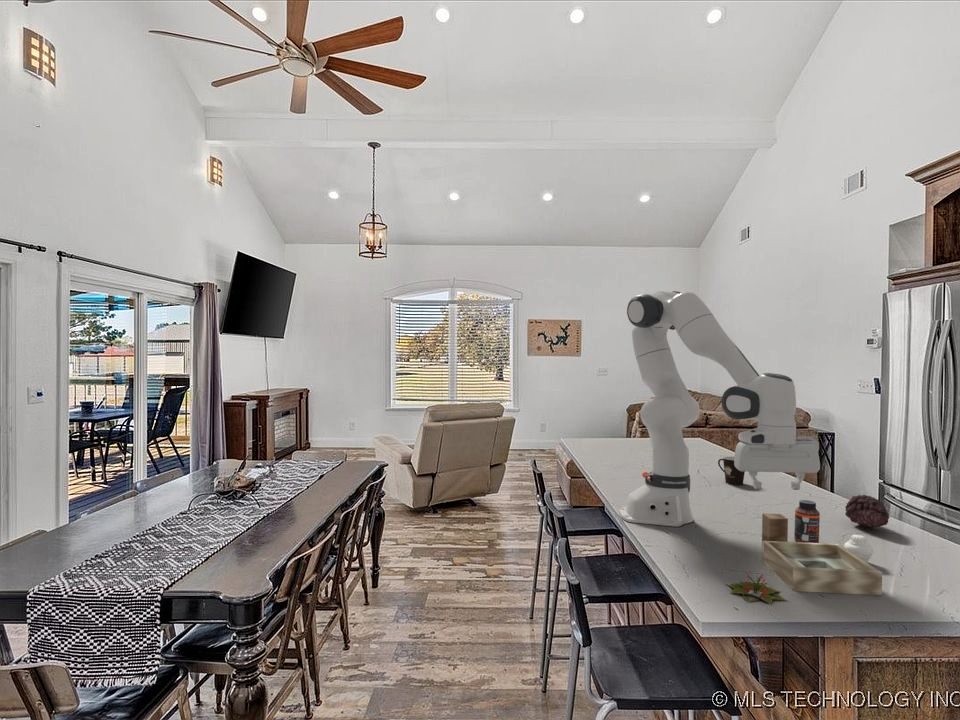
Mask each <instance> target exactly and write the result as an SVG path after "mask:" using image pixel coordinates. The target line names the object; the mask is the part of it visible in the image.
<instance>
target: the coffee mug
mask: <svg viewBox="0 0 960 720" xmlns="http://www.w3.org/2000/svg"><path fill="white" fill-rule="evenodd" d="M734 457H735V456H724V457H722V458H720V459H718V461H717V464H718V466H719V468H720V470H721V471H722V472H723V473H724V479H725V481H724V482H725V484H727V483H728V485H731V484H733V485H732V486H742V484H744V479H745V472H746V471H740V470H738V469H737V468H736V467H735V465H734ZM721 461H722V463H723V467H722V466H721V464H720V462H721Z"/></svg>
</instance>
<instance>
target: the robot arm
mask: <svg viewBox="0 0 960 720" xmlns="http://www.w3.org/2000/svg"><path fill="white" fill-rule="evenodd" d="M626 308H627V309H626V314H627V318H628V320H629V323H630V324H632V326H634V327H633V329H632V332H631V337H632V346H633V352H634V357H635V359H636V362H637V366H638V370H639V373H640V376H641V380H642V381H643V383H644V385H646V386H647V388H648V389H649V390H650V391H651V393H652V394H653V396H654V397H652V398H650V399H648V400H647V401H645V402H644V404H643V405H642V407H641V409H640V412H639V413H640V414H639V415H640V420H641V422H642V424H643V425H644V426H645V427H646V429H647V432H648V436H649V440H650V445H651V471H649V472H648V471H647V470H644V471H642V472H641V476H642V478H644V482H645V483H644V484H642V485H640V486H639V487H638V488H636V489H634V490H633V491H631V492H630V494H628V497H627V500H626V506H623V507H620V509H619V511H618V515H619V516H620V518H621V519H622V520H624V521H626V522H629V523H634V524H647V525H654V526H657V525H658V526H667V527H675V528H676V527H677V528H678V527H682V526H683V525H686V524H690V523H692V522H694V516H693V511H692V508H691V507H692V506H691V499H690V492H691V475H690V474H689V473H690V472H689V469H690V468H689V467H690V466H689V465H690V462H689V461H690V451H689V448H688V446H687V445H686V443H685V439H684V436H683V429H684V428H687V427H689V426H691V425H692V424H694V423H695V422H696V421H697V420H698V419H699V417H700V413H701V409H700V405H699V403H698V401H697V400H696V399H695V398H694V397H693V396H692V395H691V393H690V392H689V390H688V388H687V387H686V385H685V383H684V381H683V380H682V378H681V375H680V374H679V371H678V369H677V365H676V363H675V359H674V357H673V354H672V353H673V352H672V350H671V347H670V343H669V340H668V337H667V334H668V331H669V330H672V331H673V330H675V331H676V333H677V335H678V336H679V338H680V340H681V341H682V342H683V344H684V345H685V346H686V348H687V349H688V350H689V351H690V352H692V353H693V354H695V355H697V356H700V357H703V358H706V359H710V360H711V361H713V362H715V363H718V364H719V365H721V367H723V368H724V369H725V370H726V371H727V372H728V374H729V376H730V377H731V378H732V379H733V381H734V382H735V383H736V384H737V385H734V386H731V387H730V386H729V387H728V388H727V389H725V391H724V392H723V394H722V397H721V407H722V410H723V413H724V414H726V416H727V417H729V418H730V419H733V420H736V421H753V420H756V421H757V427H755V428H752V429H748V430H745V431H741V432H739V433H738V434H737V436H738V437H737V438H738V441H739V442H738V443H737V444H736V446H735V452H734V456H733V457H734V465H735V467H736V468H737V469H738V470H740V471H745V472H747V473H748V476H749V477H750V479H751V481H752V483H753V484H752V486H753V488H754V489H755V490H762V488H763V487H762V485H763V482H761V480H758V478H757V477H758V472H761V473H795V476H796V477H795V480H794V481H791V482H790V489H791V490H796V491H798V490H799V491H800V490H801V483H802V482H803V481H804V479H805V477H806V474H808V473H809V474H816V473H819V471H820V470H821V462H820V456H819V450H820V442H819V440H818V439H817V438H815V437H813V436H811V435H807V436H802V435H801V436H800V435H799V436H798V435H797V422H796V419H795V413H796V411H797V396H796V393H797V392H796V387H795V384H794V380H793V379H792V378H791V377H790V376H787V375H784V374H780V373H772V372H765V373H762V374H759V372H757V370H756V369H755V368H754V367H753V365H752V364H751V362H750V361H749V360H748V359H747V358H746V356H745V355H744V353H743V352H742V351H741V349H740V348H739V347H738V346H737V345H736V344H735V343H734V341H732V339H731V338H730V337H729V335H728V334H727V333H726V332H725V330H724V328H722V326H721V325H720V323H719V322H718V320H717V318H715V315H714V314H713V313H712V312H711V310H710V308H709V307H708V306H707V305H706V303H705V302H704V301H703V300H702V299H701V298H700V297H699V296H698V295H697V294H696V293H694V292H692V291H684V292H681V291H677V290H674V291H655V292H649V293H642V294H638V295H635V296H634V297H632V298H631V299H630V300H629V301H628V303H627V307H626Z"/></svg>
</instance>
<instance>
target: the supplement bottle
mask: <svg viewBox="0 0 960 720" xmlns="http://www.w3.org/2000/svg"><path fill="white" fill-rule="evenodd" d="M798 503H799V504H798V505H799V506H798V507H796V508H795V510H794V531H793V532H794V535H793V536H794V540H795V542H804V543H820V517H821V516H820V515H821V514H820V512H819V511H818V510H817V503H816V502H815V501H813V500H809V499H807V500H806V499H801V500H799V502H798Z"/></svg>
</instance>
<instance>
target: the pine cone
mask: <svg viewBox="0 0 960 720" xmlns="http://www.w3.org/2000/svg"><path fill="white" fill-rule="evenodd" d="M845 516H846V517H847V518H848V519H850V522H852V523H855V524H857V525H858V526H859V527H860V526H862V527H865V528H872V529H874V528H879V527H883V526H886V525H888V523H889V519H890V515H889V513H888V512H887V509H886V507H885V506H884V504H883V503H882V502H880V500H879V499H878V498H875V497H874V496H871V495H866V494H863V495H861V494H859V495H853V496H851V498H850V499H849V500H848V502H847V503H846V505H845Z"/></svg>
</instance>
